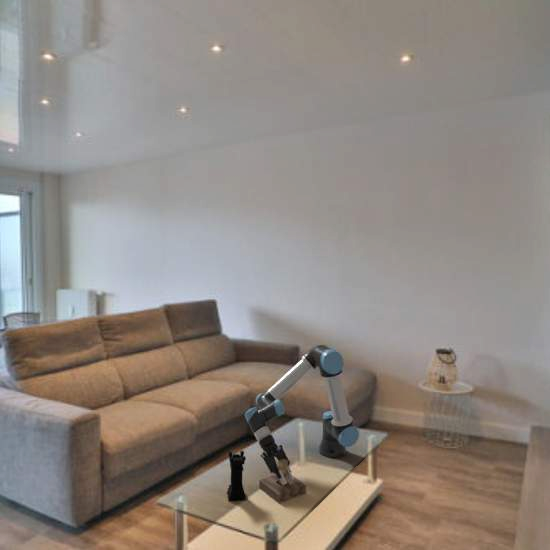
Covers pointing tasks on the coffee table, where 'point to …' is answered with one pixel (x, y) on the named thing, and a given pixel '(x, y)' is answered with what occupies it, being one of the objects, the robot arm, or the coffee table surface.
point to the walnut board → (282, 488)
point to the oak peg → (283, 469)
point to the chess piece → (236, 477)
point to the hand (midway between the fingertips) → (288, 482)
